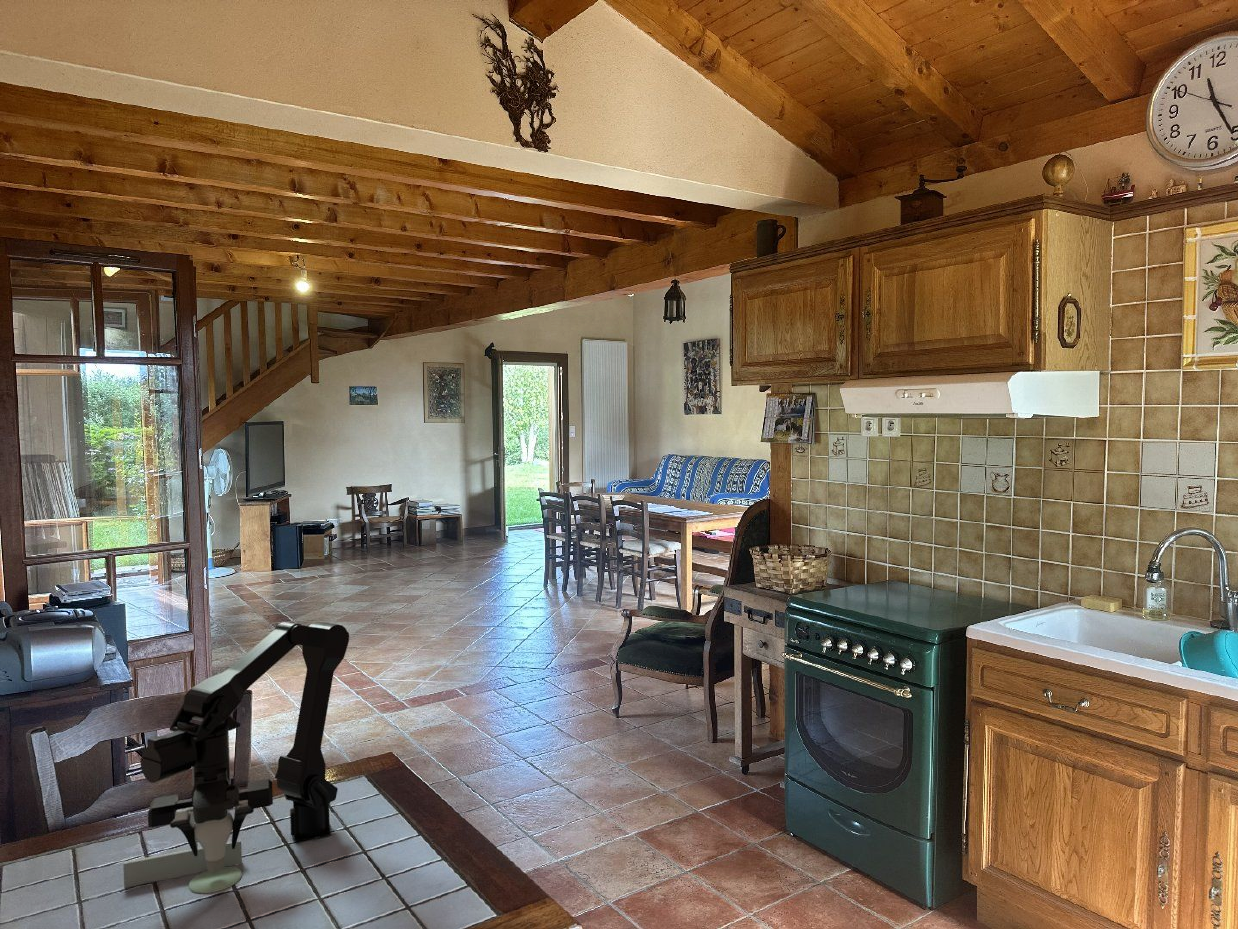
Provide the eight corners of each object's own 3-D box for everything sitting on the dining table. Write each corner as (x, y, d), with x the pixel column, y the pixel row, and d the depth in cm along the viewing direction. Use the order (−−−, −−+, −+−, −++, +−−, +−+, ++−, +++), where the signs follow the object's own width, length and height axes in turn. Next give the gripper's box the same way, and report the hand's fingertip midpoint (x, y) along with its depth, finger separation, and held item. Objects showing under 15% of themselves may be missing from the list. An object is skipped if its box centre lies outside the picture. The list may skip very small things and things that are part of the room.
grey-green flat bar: (242, 861, 149) (241, 839, 148) (241, 863, 148) (241, 841, 148) (125, 885, 141) (124, 862, 141) (124, 887, 141) (123, 864, 141)
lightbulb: (219, 883, 139) (217, 817, 138) (187, 880, 140) (184, 815, 140) (243, 865, 145) (240, 802, 144) (211, 862, 146) (209, 799, 145)
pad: (241, 864, 148) (241, 863, 148) (240, 886, 140) (240, 884, 140) (190, 875, 144) (190, 873, 144) (187, 898, 137) (187, 896, 137)
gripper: (141, 789, 131) (146, 888, 131) (271, 767, 138) (275, 861, 138) (150, 764, 141) (154, 855, 141) (270, 745, 148) (274, 832, 149)
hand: (214, 851), depth 142 cm, fingers closed on lightbulb, 5 cm apart
